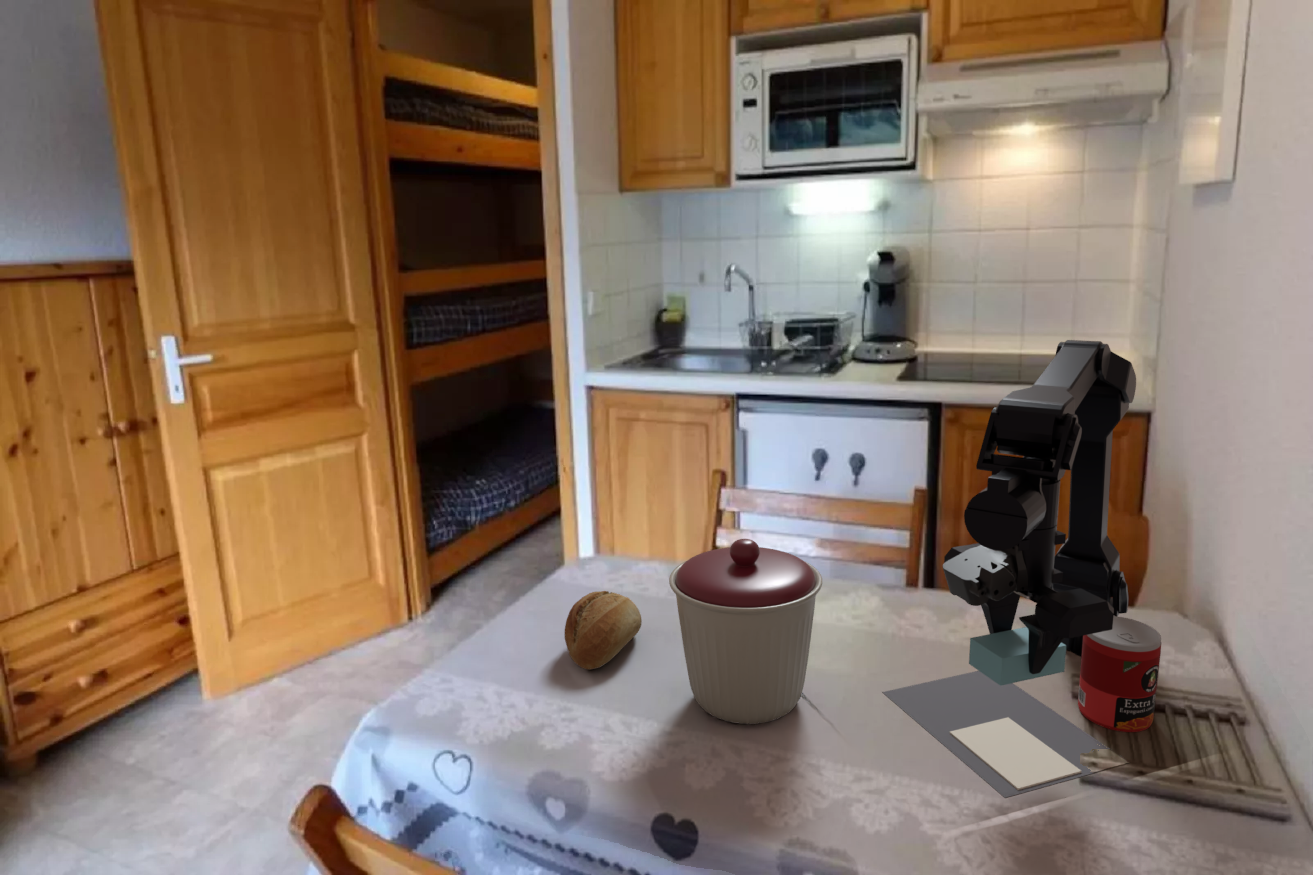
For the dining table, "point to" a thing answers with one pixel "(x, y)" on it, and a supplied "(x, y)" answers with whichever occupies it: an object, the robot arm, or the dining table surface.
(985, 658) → the block
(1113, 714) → the canned food
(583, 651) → the bread roll
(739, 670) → the canister
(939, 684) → the mat
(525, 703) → the dining table surface
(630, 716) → the dining table surface
